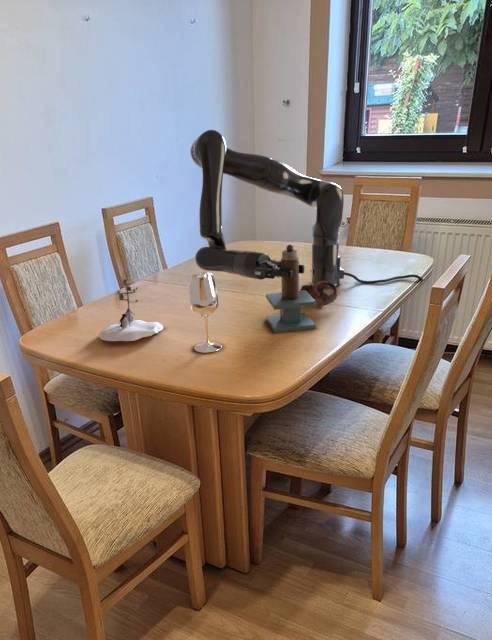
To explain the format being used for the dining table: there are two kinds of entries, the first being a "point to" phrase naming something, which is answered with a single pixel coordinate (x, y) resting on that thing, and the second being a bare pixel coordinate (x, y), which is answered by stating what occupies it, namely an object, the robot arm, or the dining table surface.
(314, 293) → the brown clay hollow piece
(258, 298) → the dining table surface
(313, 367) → the dining table surface
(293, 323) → the stand
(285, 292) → the pepper mill
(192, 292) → the wineglass
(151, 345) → the dining table surface
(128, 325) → the figurine
